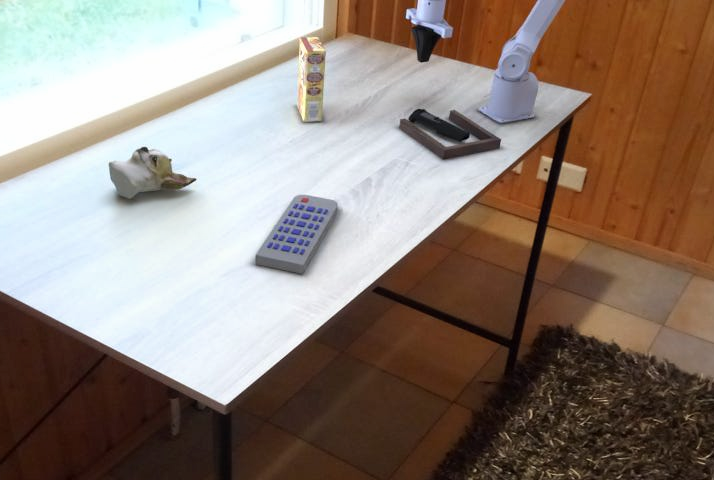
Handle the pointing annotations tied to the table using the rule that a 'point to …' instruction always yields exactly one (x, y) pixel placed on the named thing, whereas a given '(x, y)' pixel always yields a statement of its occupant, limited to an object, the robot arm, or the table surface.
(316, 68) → the candy box
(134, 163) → the ceramic sculpture
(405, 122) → the dock
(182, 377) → the table surface
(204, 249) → the table surface
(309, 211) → the remote control
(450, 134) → the electric trimmer
